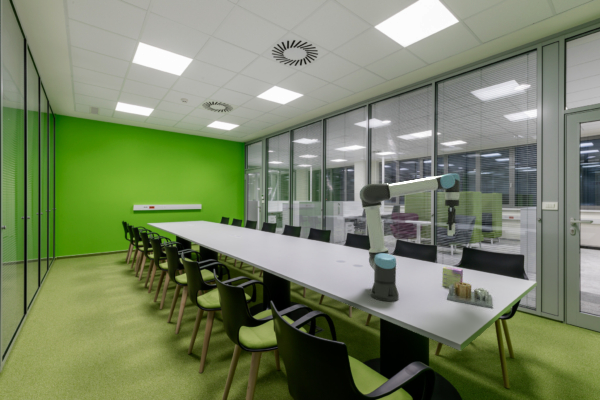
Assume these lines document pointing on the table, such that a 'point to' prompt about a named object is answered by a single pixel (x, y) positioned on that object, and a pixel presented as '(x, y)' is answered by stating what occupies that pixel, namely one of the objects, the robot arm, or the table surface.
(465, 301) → the carrier
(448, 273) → the box
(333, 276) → the table surface
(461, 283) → the gear
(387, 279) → the robot arm
